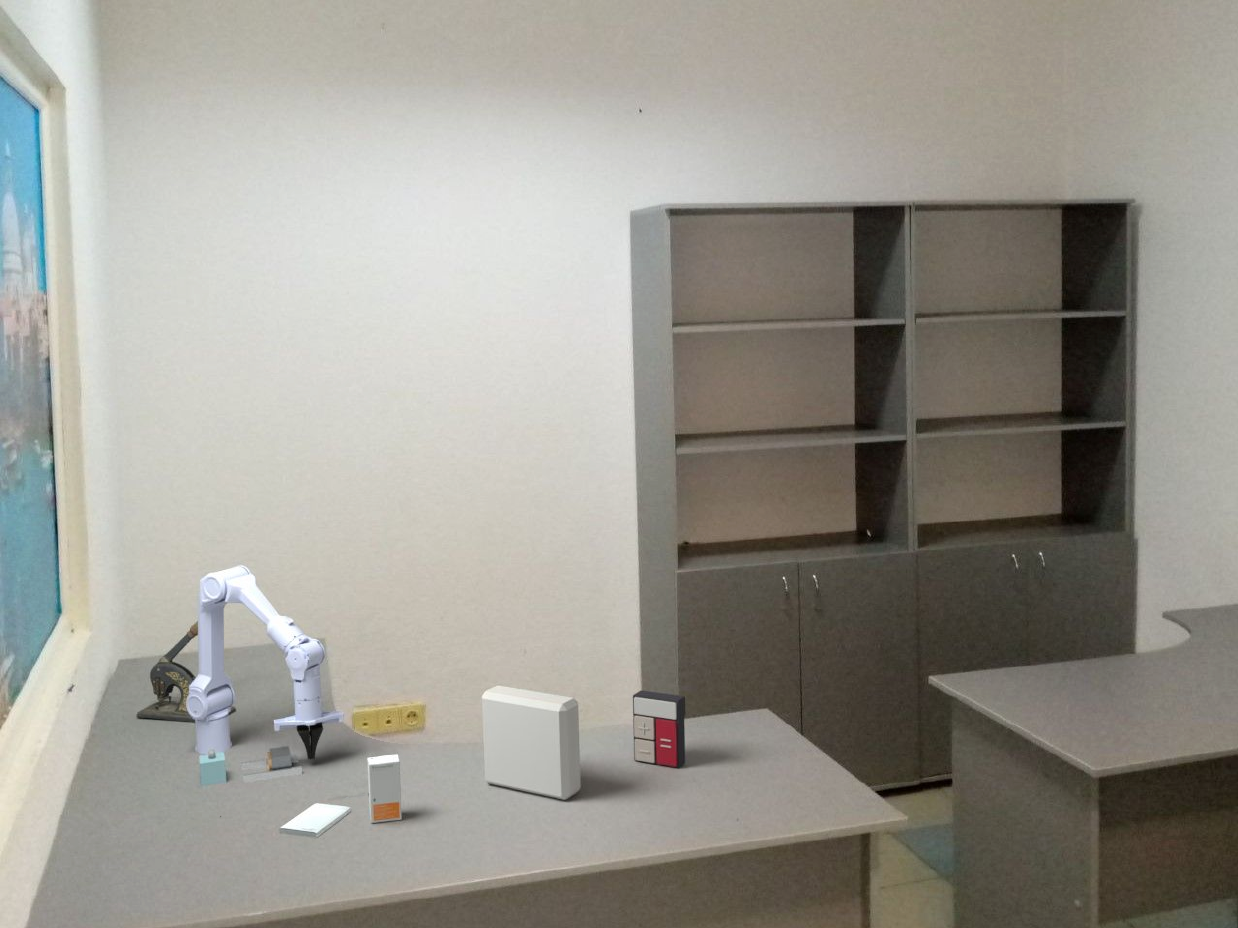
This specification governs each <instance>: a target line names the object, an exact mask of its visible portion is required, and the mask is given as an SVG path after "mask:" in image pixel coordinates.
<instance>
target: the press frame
mask: <svg viewBox="0 0 1238 928" xmlns="http://www.w3.org/2000/svg"><path fill="white" fill-rule="evenodd" d="M292 763H299V754H297V753H296V754H291V764H292ZM259 768H268V766H267V758H263V759H257V760H250V761H249V760H248V761H244V762H243V761H242V762H240V770H241V771H245V770H252V769H259ZM297 775H303V766H302V765H299V766H292V767H291V768H284V769H278V770H271V771H269V770H266V771H259V772H258V771H257V772H252V773H251V772H250V773H245V774H242V782H243V783H250V782H257V781H264V780H270V779H276V778H283V777H284V778H285V777H289V776H297Z"/></svg>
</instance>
